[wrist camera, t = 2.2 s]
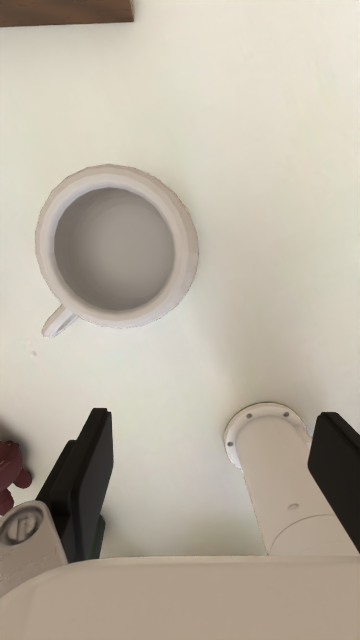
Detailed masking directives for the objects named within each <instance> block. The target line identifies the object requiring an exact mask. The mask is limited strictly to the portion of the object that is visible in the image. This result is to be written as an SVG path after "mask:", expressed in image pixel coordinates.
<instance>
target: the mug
mask: <svg viewBox="0 0 360 640" xmlns="http://www.w3.org/2000/svg"><path fill="white" fill-rule="evenodd" d="M35 244H36V256H37V260H38V263H39V267H40V271H41V274H42V276H43V278H44V279H45V281H46V283H47V285H48V287H49V288H50V290H51V292H52V293H53V294H54V296H55V297H56V298H57V299H58V300H59V301H60V302H61V303H62V305H61V306H60V307H59V308H58V309H57V310H56V311H55V312H54V313H53V314H52V315H51V316H50V317H49V319H48V320H47V321H46V323H45V325H44V326H43V328H42V334H43V336H44V337H47V338H52V337H55V336H57V335H58V334H60V333H61V332H62V331H64V330H65V329H66V328H67V327H68V326H69V325H70V324H71V323H73V322H74V321H75V320H76V319H77V318H78V317H80V318H81V319H83V320H86V321H88V322H91V323H94V324H96V325H99V326H103V327H111V328H120V329H121V328H130V327H137V326H143V325H145V324H147V323H150V322H152V321H155V320H157V319H160V318H161V317H163V316H164V315H165V314H167V313H168V312H169V311H171V310H172V309H173V308H175V307H176V306H177V305H178V304H179V302H180V301H181V300H182V298H183V297H184V296H185V295H186V293H187V292H188V291H189V288H190V286H191V284H192V281H193V279H194V276H195V274H196V270H197V263H198V256H199V250H198V241H197V233H196V230H195V227H194V225H193V222H192V219H191V217H190V214H189V212H188V211H187V209H186V208H185V206H184V205H183V204H182V202H181V201H180V199H179V198H178V196H177V195H176V194H175V193H174V192H173V191H172V190H171V189H169V188H168V187H167V186H166V185H165V184H163V183H162V182H161V181H160V180H159V179H157V178H156V177H154V176H151V175H149V174H147V173H145V172H143V171H140V170H138V169H136V168H132V167H126V166H119V165H113V164H106V165H99V166H93V167H87V168H85V169H83V170H81V171H79V172H76V173H74V174H72V175H70V176H68V177H67V178H66V179H65V180H64V181H62V182H61V183H60V184H59V185H58V186H57V187H56V188H55V189H54V190H53V191H52V192H51V193H50V195H49V197H48V199H47V200H46V202H45V204H44V206H43V207H42V209H41V211H40V215H39V219H38V223H37V227H36V231H35Z"/></svg>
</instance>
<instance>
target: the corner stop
mask: <svg viewBox="0 0 360 640" xmlns="http://www.w3.org/2000/svg"><path fill="white" fill-rule="evenodd" d="M133 21H134V16H133V2H132V0H0V27H4V26H30V25H56V24H81V23H107V22H133Z"/></svg>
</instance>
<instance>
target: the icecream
mask: <svg viewBox="0 0 360 640" xmlns="http://www.w3.org/2000/svg"><path fill="white" fill-rule="evenodd" d="M18 446H19V445H18V444H17V443H14V442H12V441H8V442H6V443H4V442H2V441H0V515H2V516H4V515H5V514H6V513H7V512H8V511H9V510H11V509H12V508H13V505H14V500H13V497H12V496H11V492H10V491H8V489H7V488H8V487H9V486H10V485H11V484H12V483H14V484H15V485H16V486H17V487H19V488H22V489H25V488H27V487H29V486H30V485H31V483H32V478H31V476H30V474H29V472H27V471H25V470H24V469H21V468H22V458H21V454H20V451H19V449H18Z"/></svg>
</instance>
